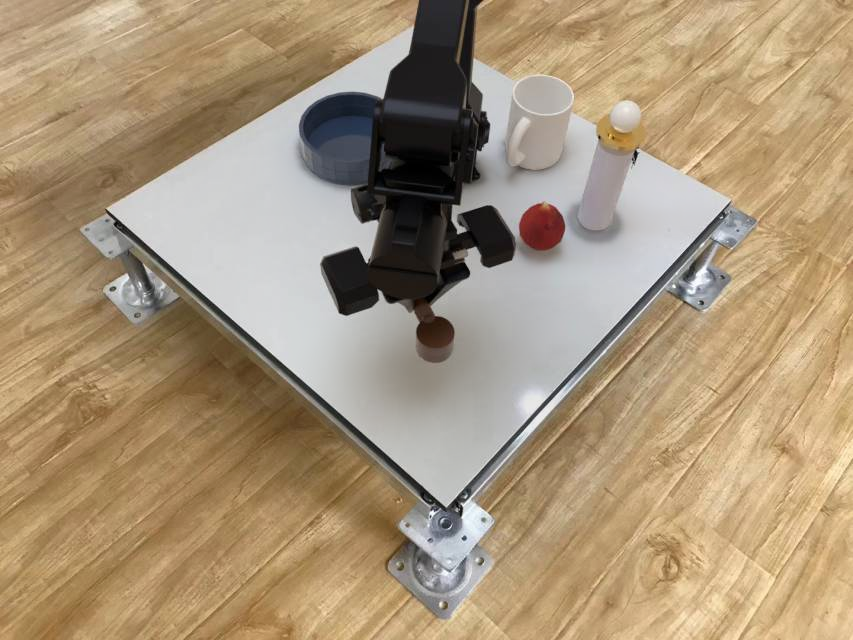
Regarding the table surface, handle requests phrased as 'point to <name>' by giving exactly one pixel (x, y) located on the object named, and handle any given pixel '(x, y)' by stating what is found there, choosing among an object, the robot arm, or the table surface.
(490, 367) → the table surface
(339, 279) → the robot arm
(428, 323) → the ladle
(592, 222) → the perfume bottle
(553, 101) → the mug
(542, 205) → the onion
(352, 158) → the bowl
